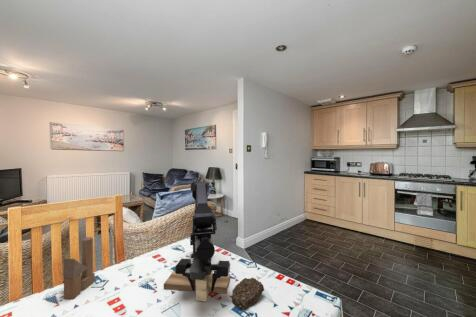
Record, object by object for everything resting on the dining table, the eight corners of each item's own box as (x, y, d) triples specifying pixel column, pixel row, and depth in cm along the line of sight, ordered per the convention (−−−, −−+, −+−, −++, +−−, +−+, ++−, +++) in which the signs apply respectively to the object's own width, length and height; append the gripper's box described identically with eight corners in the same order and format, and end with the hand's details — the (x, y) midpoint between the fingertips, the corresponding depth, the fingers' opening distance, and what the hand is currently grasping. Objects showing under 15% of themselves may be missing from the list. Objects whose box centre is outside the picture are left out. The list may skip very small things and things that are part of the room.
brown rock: (251, 285, 81) (251, 272, 81) (268, 300, 72) (268, 285, 72) (225, 296, 74) (225, 281, 74) (240, 313, 66) (240, 297, 66)
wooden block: (63, 299, 72) (63, 247, 72) (86, 281, 83) (86, 236, 83) (73, 299, 72) (73, 247, 72) (95, 281, 83) (95, 236, 83)
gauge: (206, 278, 85) (206, 261, 85) (214, 278, 85) (214, 261, 85) (196, 300, 71) (196, 280, 71) (206, 301, 71) (206, 281, 71)
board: (173, 275, 87) (173, 271, 87) (230, 279, 85) (230, 274, 85) (163, 289, 78) (163, 283, 78) (226, 293, 76) (226, 287, 76)
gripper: (168, 256, 67) (168, 305, 67) (225, 259, 65) (225, 309, 65) (181, 242, 78) (180, 284, 78) (230, 244, 76) (230, 287, 76)
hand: (203, 291), depth 74 cm, fingers open, 6 cm apart
